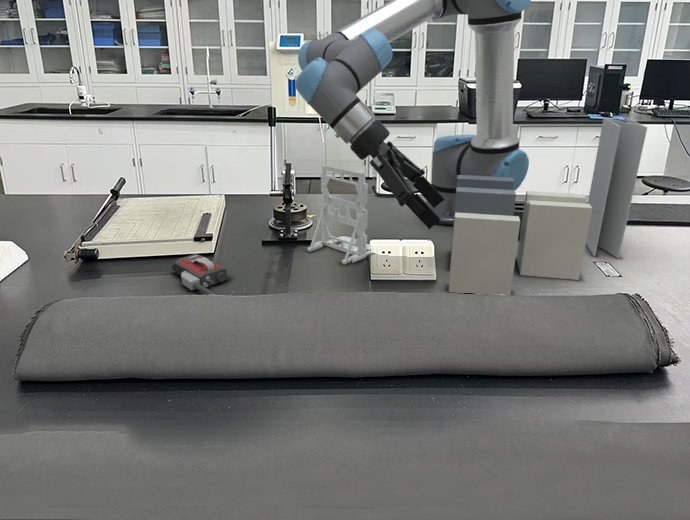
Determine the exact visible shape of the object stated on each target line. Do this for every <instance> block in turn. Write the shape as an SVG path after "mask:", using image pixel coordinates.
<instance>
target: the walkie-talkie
mask: <svg viewBox="0 0 690 520" xmlns="http://www.w3.org/2000/svg"><path fill="white" fill-rule="evenodd" d="M170 268H171V269H172V270H173V271H174V272H175V273H176V274H177V275H178V276H180V278H181V285H182V286H185V288H188V289H189V290H190V291H194V290H197V291H200V292H202V293H203V294H204V295H206V294H216V292H214V291H212V290H210V289H208V288H209V287H212V286H214V285H215V286H216V285H218V284H220V283H223V282H226V281H228V271H227V270H228V269H227V267H225V266H223V265H221V264H219V263H217V262H215V261H213V260H211V259H210V258H207V257H205V256H203V255H200V254H197V253H195V254H191V255H187V256H184V257H181V258H178V259H176V260H175V262H174V264H171V266H170Z"/></svg>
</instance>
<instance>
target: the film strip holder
mask: <svg viewBox="0 0 690 520" xmlns="http://www.w3.org/2000/svg"><path fill="white" fill-rule="evenodd" d="M328 172H332V174H331V175H332V176H331V175H328ZM335 174H339V176H340V177H335ZM344 176H348V177H349V179H344ZM353 177H354V178H358V180H357V182H356V181H353ZM330 180H333V181H337V182H342V183H345V184H349V185H354V187H355V190H356V193H357V197H356V199H355V202H354V201H349V200H346V199H343V198H338V197H335V196H331V195H330V192H329V188H328V185H329V183H330ZM368 187H369V184H368V183H366V173H365V172H357V171H353V170H349V169H344V168H339V167H334V166H329V165H326V164H321V173H320V192H321V193H322V194H321V195H322V197H321V198H320V203H321V204H320V210H321V211H320V215H319V217H318V221H317V224H316V227H315V230H314V233H313V236H312V239H311V243H310V245H309V246H308V247H307V249H306V250H307V252H309V253H311V252H314V251H316V250H319V249H322V248H324V246H327V247H329V248H332V249H334V250H337V251H341V252H343V253H345V256H344V259H342V260H341V264H342V265H344V266H345V265H348V264H350V263H352V264H354V263H357V262H359V261H361V260H364V259H366V257H368V256H370V255H371V254H370V244H371V243H368V235H367V234H366V232H365V231H366V230H367V229H368V209H366V205H367V204H368V201H369V200H368V196H369V195H368V194H369V193H368V191H369V188H368ZM330 204H333V206H334V209H333V211H334V213H332V212H330ZM340 207H343V208H344V211H345V212H344V213H345V214H344V215H340V214H341V213H340ZM351 210H353V211H355V213H356V214H355V219H353V218H351ZM330 221H334V222H337V223H340V224H343V225H347V226H350V227H353V228H354V229H353V233H352V234H351V236H347V235H346V236H344V235H341V236H338V237H336V236H332V235H331V233H330V230H329V227H328V226H329V224H330ZM320 226H321V239H322V240H320V241H316V239H317V235H318V233H319V229H320ZM356 236H357V238H356ZM339 242H340V244H336V243H339Z"/></svg>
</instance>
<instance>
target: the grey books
mask: <svg viewBox="0 0 690 520" xmlns="http://www.w3.org/2000/svg"><path fill="white" fill-rule="evenodd" d="M513 186H514V180H513V178H512V177H492V176H471V175H458V176H457V188H456V200H455V212H454V221H455V213H472V214H488V215H504V216H513V214H514V212H515V205H516V199H517V193H516V190H513ZM453 233H454V224H453V225H452V234H453ZM452 245H453V235H452V237H451V246H452ZM451 257H452V247H451V249H450V258H451ZM450 269H451V259H450V261H449V270H450Z"/></svg>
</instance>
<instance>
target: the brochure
mask: <svg viewBox="0 0 690 520" xmlns="http://www.w3.org/2000/svg"><path fill="white" fill-rule="evenodd" d="M647 132H648V127H647V126H646V125H644V124H642V123H639V122H638V121H635V120H633V119H631V118H629V117H627V118H626V121H622V120H618V119H614V118H609V117H603V119H602V125H601V130H600V134H599V141H598V145H597V151H596V156H595V161H594V168H593V173H592V179H591V184H590V188H589V189H590V190H589V194H588V198H587V204H590V205H591V207H592V213H591V218H590V224H589V229H588V234H587V240H586V246H587V248H588V249H589V251H590V253H591V254H592V256H593V257H596V255H597V249H598V247H599V248H601V249H602V250H604V251H605V252H607V253H608V254H610V255H612V256H613V257H615V258H617V259H619V258H620V257H621V251H622V245H623V242H624V237H625V232H626V228H627V223H628V218H629V214H630V209H631V204H632V200H633V196H634V191H635V187H636V181H637V178H638V173H639V168H640V164H641V159H642V154H643V149H644V145H645V140H646V135H647Z"/></svg>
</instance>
